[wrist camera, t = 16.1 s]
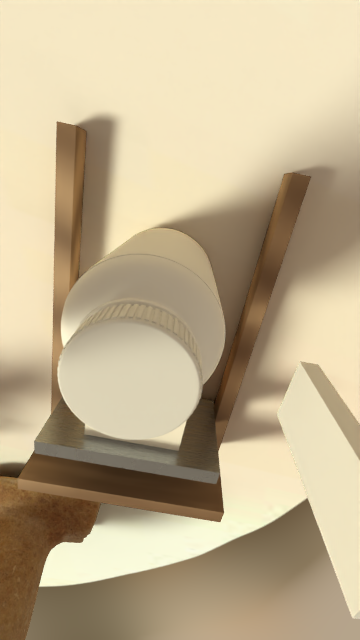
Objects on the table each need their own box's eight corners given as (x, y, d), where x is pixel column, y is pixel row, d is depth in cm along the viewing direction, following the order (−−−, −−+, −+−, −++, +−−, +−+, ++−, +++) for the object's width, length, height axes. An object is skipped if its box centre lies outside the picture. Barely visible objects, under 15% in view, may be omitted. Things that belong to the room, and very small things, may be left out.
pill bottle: (228, 247, 23) (280, 333, 10) (190, 333, 26) (187, 490, 13) (131, 208, 22) (35, 240, 9) (104, 301, 25) (0, 433, 12)
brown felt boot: (-16, 522, 39) (-131, 705, 25) (-26, 457, 34) (-174, 640, 20) (100, 539, 39) (50, 728, 26) (107, 478, 34) (50, 670, 21)
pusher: (75, 375, 28) (34, 441, 21) (213, 400, 29) (219, 473, 22) (74, 385, 29) (34, 453, 21) (210, 410, 29) (215, 484, 22)
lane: (68, 127, 20) (-1, 93, 13) (300, 177, 21) (358, 172, 14) (59, 417, 31) (17, 488, 24) (213, 444, 32) (220, 522, 24)
